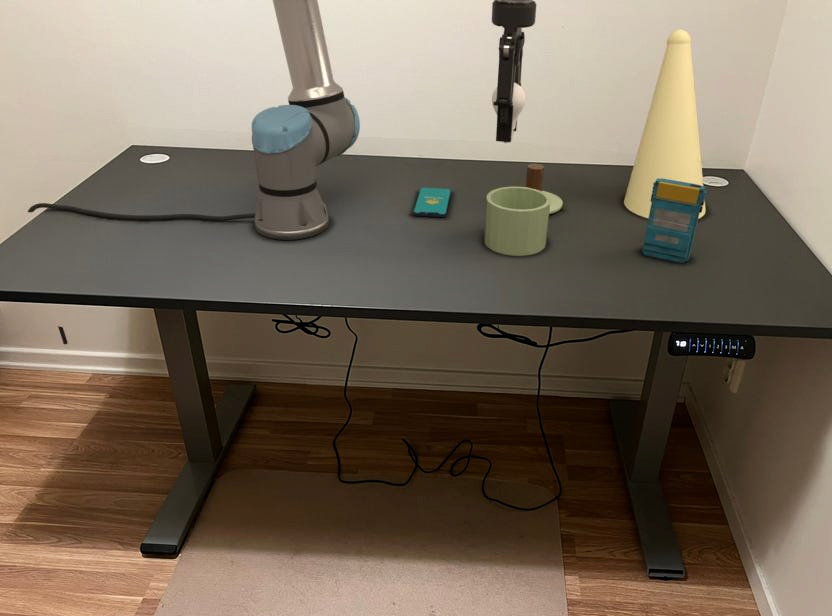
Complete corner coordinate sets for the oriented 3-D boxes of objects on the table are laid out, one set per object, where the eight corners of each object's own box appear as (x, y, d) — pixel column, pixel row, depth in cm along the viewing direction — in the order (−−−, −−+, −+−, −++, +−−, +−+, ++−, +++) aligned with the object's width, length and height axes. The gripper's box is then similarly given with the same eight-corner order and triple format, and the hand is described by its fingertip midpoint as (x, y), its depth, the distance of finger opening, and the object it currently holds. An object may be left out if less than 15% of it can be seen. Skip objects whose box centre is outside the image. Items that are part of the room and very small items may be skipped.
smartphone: (451, 188, 169) (445, 213, 157) (451, 191, 170) (445, 217, 157) (420, 187, 170) (412, 212, 157) (420, 190, 170) (412, 216, 158)
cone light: (715, 223, 158) (756, 53, 138) (631, 220, 158) (660, 50, 138) (688, 182, 178) (721, 29, 158) (614, 180, 179) (637, 26, 159)
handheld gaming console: (691, 257, 144) (708, 185, 135) (687, 266, 141) (704, 193, 132) (642, 247, 147) (656, 176, 139) (638, 255, 144) (651, 183, 136)
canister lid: (497, 214, 160) (500, 174, 155) (507, 191, 171) (509, 153, 166) (559, 220, 158) (563, 180, 152) (564, 197, 169) (569, 159, 163)
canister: (479, 251, 144) (481, 207, 139) (490, 226, 154) (492, 183, 149) (542, 259, 142) (546, 213, 137) (548, 232, 152) (553, 189, 147)
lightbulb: (527, 141, 137) (532, 81, 131) (512, 150, 133) (516, 88, 127) (499, 135, 140) (503, 76, 134) (483, 143, 136) (486, 83, 129)
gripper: (529, 9, 114) (518, 153, 127) (543, -8, 130) (532, 122, 143) (482, 7, 116) (477, 150, 129) (501, -10, 131) (495, 119, 144)
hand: (506, 135), depth 136 cm, fingers closed on lightbulb, 6 cm apart
